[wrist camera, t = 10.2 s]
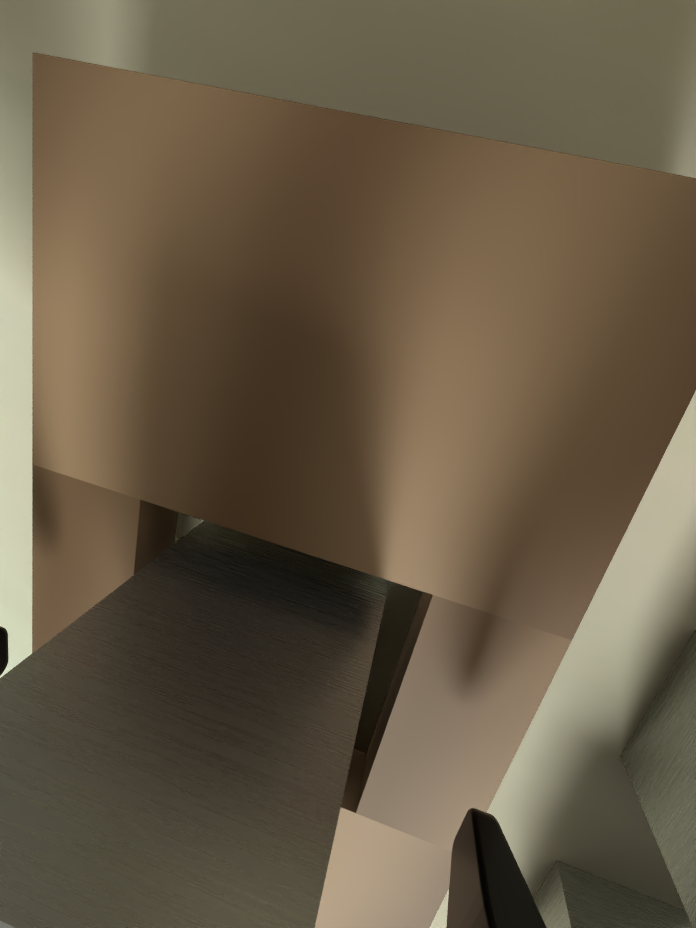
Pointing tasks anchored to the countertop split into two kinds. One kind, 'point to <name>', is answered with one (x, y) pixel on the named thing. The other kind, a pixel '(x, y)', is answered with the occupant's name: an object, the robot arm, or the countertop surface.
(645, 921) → the medium pin
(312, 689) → the long pin
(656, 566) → the countertop surface
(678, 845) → the grey metal cube
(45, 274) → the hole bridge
